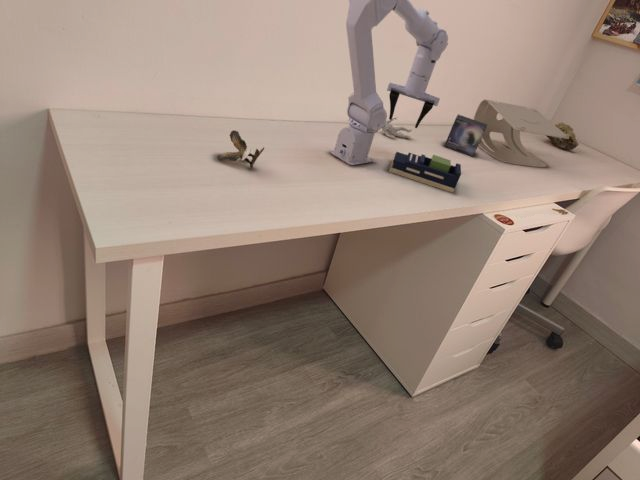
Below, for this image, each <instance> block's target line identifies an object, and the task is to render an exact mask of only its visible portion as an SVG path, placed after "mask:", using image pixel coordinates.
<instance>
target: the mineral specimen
mask: <svg viewBox="0 0 640 480" xmlns="http://www.w3.org/2000/svg"><path fill="white" fill-rule="evenodd" d="M554 125H555V126H556V127H557V128H558V129H560V130H561V131H562V132H563V133H564V134H569V135H570V136H569V139H565V138H559V137H553V136H547V135H545V136H546V137H547V139H548V140H549V141H550V142H551V143H553V144H554V145H555V146H556V147H557V148H560V149H565V150H574V149H576V148H577V147H578V146H579V144H580V143H578V141H577V139H576V134H575V132H574V129H573V128H572V127H571V126H570V125H568V124H566V123H564V122H563V121H561V122H558V124H554Z"/></svg>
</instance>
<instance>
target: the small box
mask: <svg viewBox="0 0 640 480" xmlns="http://www.w3.org/2000/svg"><path fill="white" fill-rule="evenodd" d="M473 119H474V118H470V117H467V116H464V115H462V114H457V115H456V117H455V119H454V122H453V123H452V126H451V129H450V131H449V133H448V136H447V138H446V141H445V143H444V145H443V146H444V147H445V148H447V149H450V150H453V151H456V152H459V153H461V154H464V155H467V156H470V157H472V158H474V156H475V153H476V151H477V149H478V147H479V143H480V141H481V139H482V136H483V134H484V132H485V130H486V127H487V124H484V123H481V122H479V121H476V120H473Z"/></svg>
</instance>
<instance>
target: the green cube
mask: <svg viewBox="0 0 640 480" xmlns="http://www.w3.org/2000/svg"><path fill="white" fill-rule="evenodd" d="M451 162H452V160H451V159H448V158H445V157H442V156H439V155H436V154H432V156H431V161H430V164H429V166H428V167H431V168H434V169H437V170H440V171H443V172H446V173H448V171H449V169H450V166H451V165H452V164H451Z"/></svg>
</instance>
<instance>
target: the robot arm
mask: <svg viewBox="0 0 640 480" xmlns="http://www.w3.org/2000/svg"><path fill="white" fill-rule="evenodd" d="M391 12H394V13H395V14H396V15H397V16H398V17H400V18H401V19H402V20H403V21H404V22H405V23H404V28H405V30H406V32H408V34H410V35H411V36H412V38H414V40H415V44H416V47H417V49H416V52H415V55H414V58H413V61H412V65H411V68H410V70H409V73H408V76H407V78H406V82H405V85H401V84H397V83H393V82H389V83H388V85H387V87H386V91H388V92H389V95H388V96H389V118H388V113H387V110H386V109H385V106H384V101H383V100H382V98H381V97H380V95H379V94H378V92H377V85H376V83H377V82H376V71H375V60H374V59H375V58H374V48H373V47H374V46H373V45H374V44H373V35H372V34H373V33H372V29H373V28H374V27H377V26H378V25H379V24H380V23H381V22H383V20H384V19H385V18H386V17H387V16H388V15H389V14H390V13H391ZM346 16H347V17H346V20H345V21H346V22H345V24H346V26H345V27H346V35H347V44H348V52H349V53H348V54H349V61H350V69H351V78H352V87H353V92H352V93H351V94H350V95H349V96H348V97H347V98H348V99H347V100H348V105H347V108H346V114H347V116H348V122H349V123H348V125H347V126H346V127H343V128H342V129H341V130H340V131H339V132H338V135H337V139H336V143H335V146H334V148H333V149H334V150H332V151H331V152H330V154H331V155H332V156H335V158H338V159H339V160H341V161H343V162H344V163H346V164H348V165H349V166H356V165H362V164H363V165H364V164H367V163H373V161H374V160H373V159H372V158H370V157H369V153H370V150H371V147H372V144H373V140H374V137H375V134H376V133H378V132H379V131H380V130H382V127H383V126H384V124H385V122H386V121H387V118H388V120H391V119H392V118H394V113H395V109H396V106H397V103H398V100H399V98H400V95H401V96H404V97H408V98H411V99H413V100H418V101H420V102H424V103H423V106H422V109H421V110H420V114H419V116H418V119H417V121H416V123H415V125H414V129H418V127H419V126H420V123H421V122H422V121H423V119H424V118H425V117H426V116H427V114H428V113H430V112H431V110H432V109H433V107H434V106H435V107H438V105H439V103H440V99H441V98H440V97H437V96H434V95H432V94H430V93H427V92H426V91H427V88H428V86H429V83H430V80H431V77H432V74H433V71H434V69H435V66H436V63H437V61H439V59H440V58H441V56H442V54H443V53H444V51H445V50H446V48H447V47H448V44H449V41H448V40H449V35H448V33H447V31H446V30H445V29H443V28H439V26H438V22H437V21H435V20H433V19H432V18H431V17H430V12H429V11H428V9H421V8H419V9H416V7H414V5H413V4H412V2H411V1H410V0H348V11H347V15H346Z"/></svg>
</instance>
